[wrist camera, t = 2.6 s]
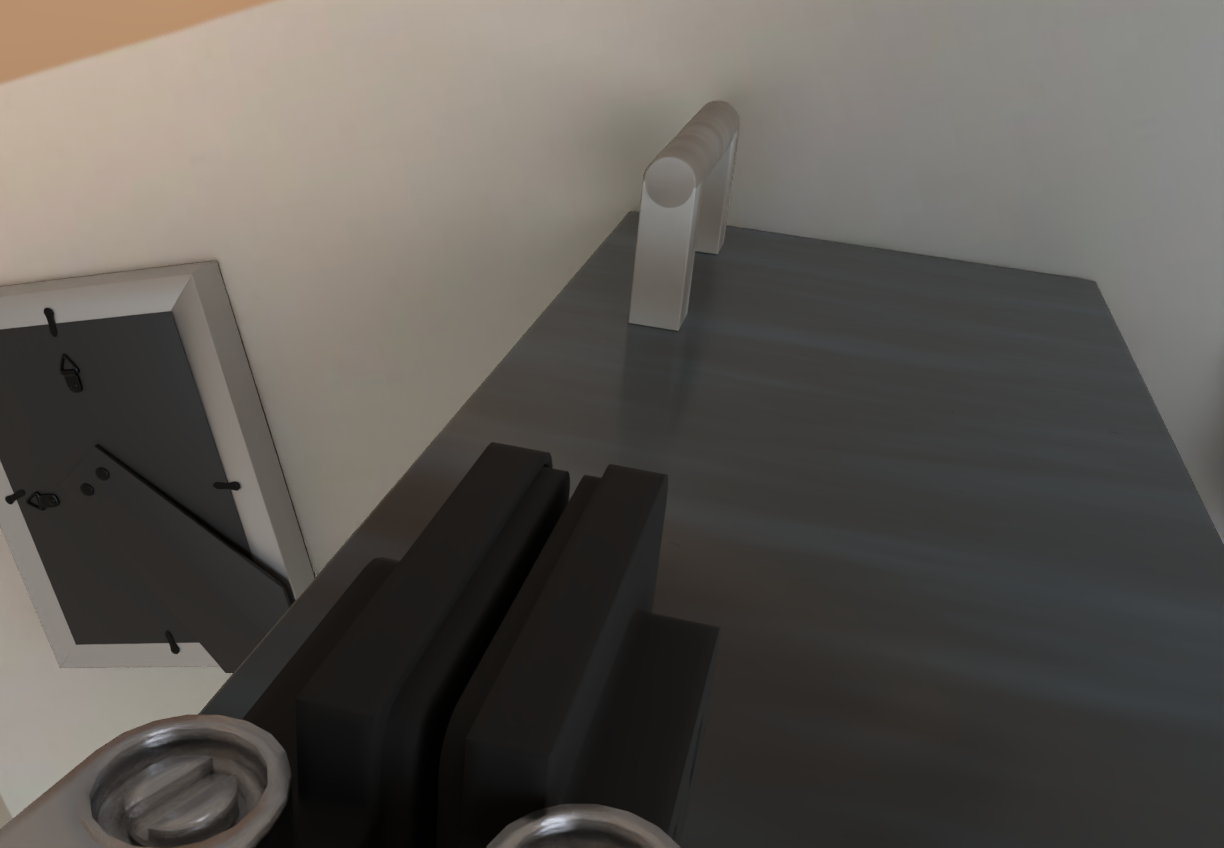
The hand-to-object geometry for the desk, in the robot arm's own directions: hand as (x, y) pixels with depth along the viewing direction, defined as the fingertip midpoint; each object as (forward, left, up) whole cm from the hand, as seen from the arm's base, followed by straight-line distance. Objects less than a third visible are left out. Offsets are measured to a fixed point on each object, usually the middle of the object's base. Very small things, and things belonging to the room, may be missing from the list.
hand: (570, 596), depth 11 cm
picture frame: (+33, -19, -37) cm, 54 cm away
